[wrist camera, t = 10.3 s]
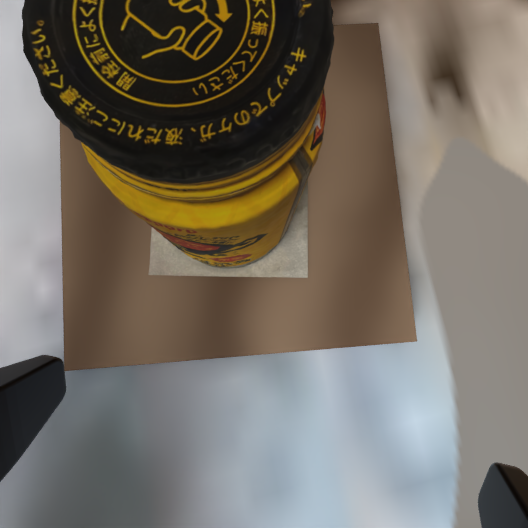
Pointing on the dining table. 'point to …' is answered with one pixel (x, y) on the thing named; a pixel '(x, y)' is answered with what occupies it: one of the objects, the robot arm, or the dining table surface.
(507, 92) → the dining table surface
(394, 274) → the walnut board
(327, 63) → the condiment
